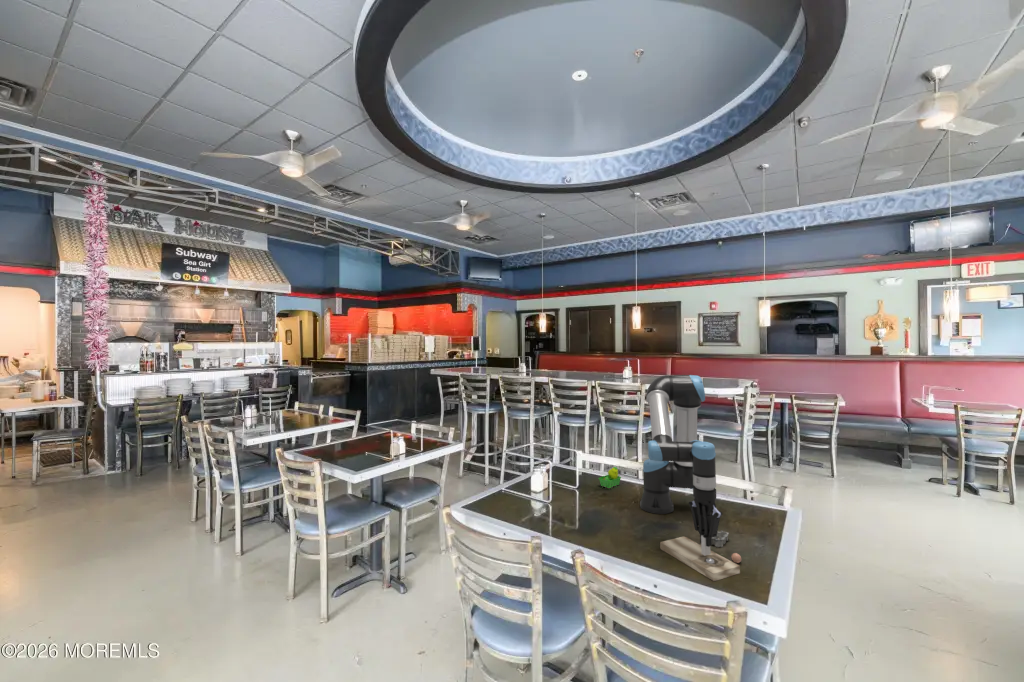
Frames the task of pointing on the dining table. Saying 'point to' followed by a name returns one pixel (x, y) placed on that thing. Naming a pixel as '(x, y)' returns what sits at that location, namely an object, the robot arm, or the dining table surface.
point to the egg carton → (721, 541)
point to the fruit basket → (610, 478)
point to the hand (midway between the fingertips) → (706, 553)
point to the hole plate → (699, 558)
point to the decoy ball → (736, 558)
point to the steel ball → (710, 561)
